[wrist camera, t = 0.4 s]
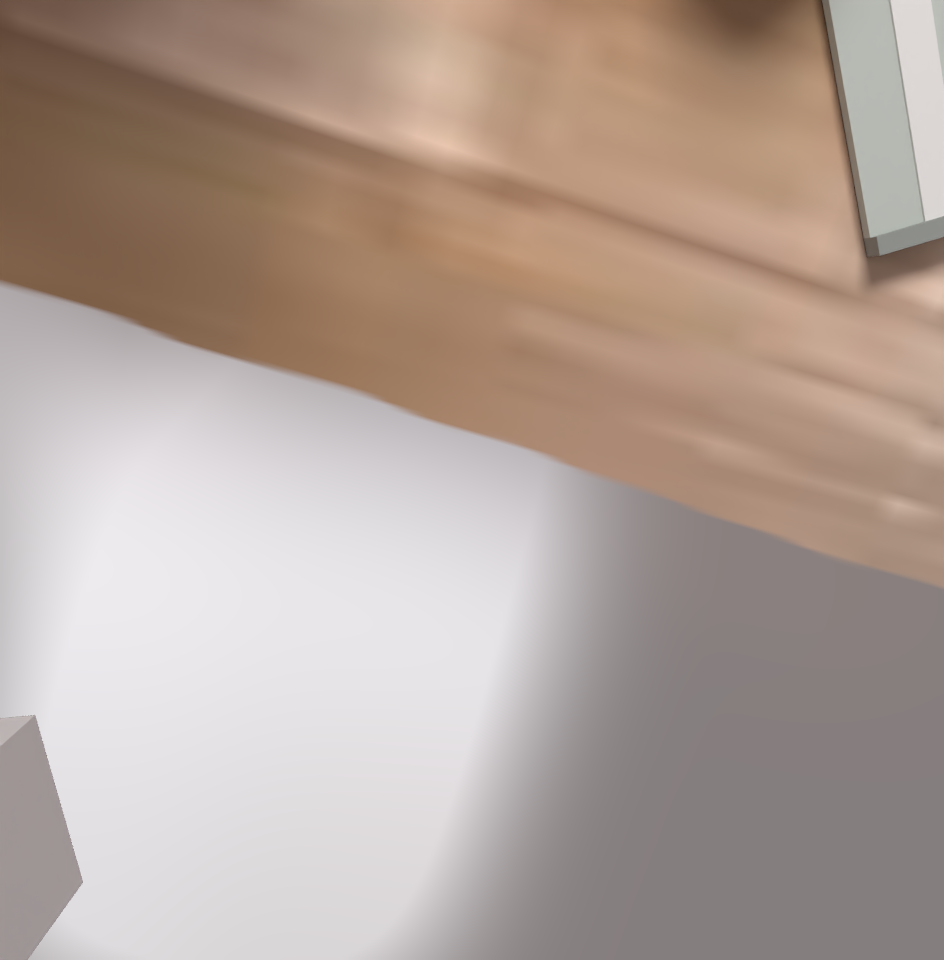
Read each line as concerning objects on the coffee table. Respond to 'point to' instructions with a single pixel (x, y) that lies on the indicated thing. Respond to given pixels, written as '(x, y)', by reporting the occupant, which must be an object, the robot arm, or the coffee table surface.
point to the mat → (892, 115)
